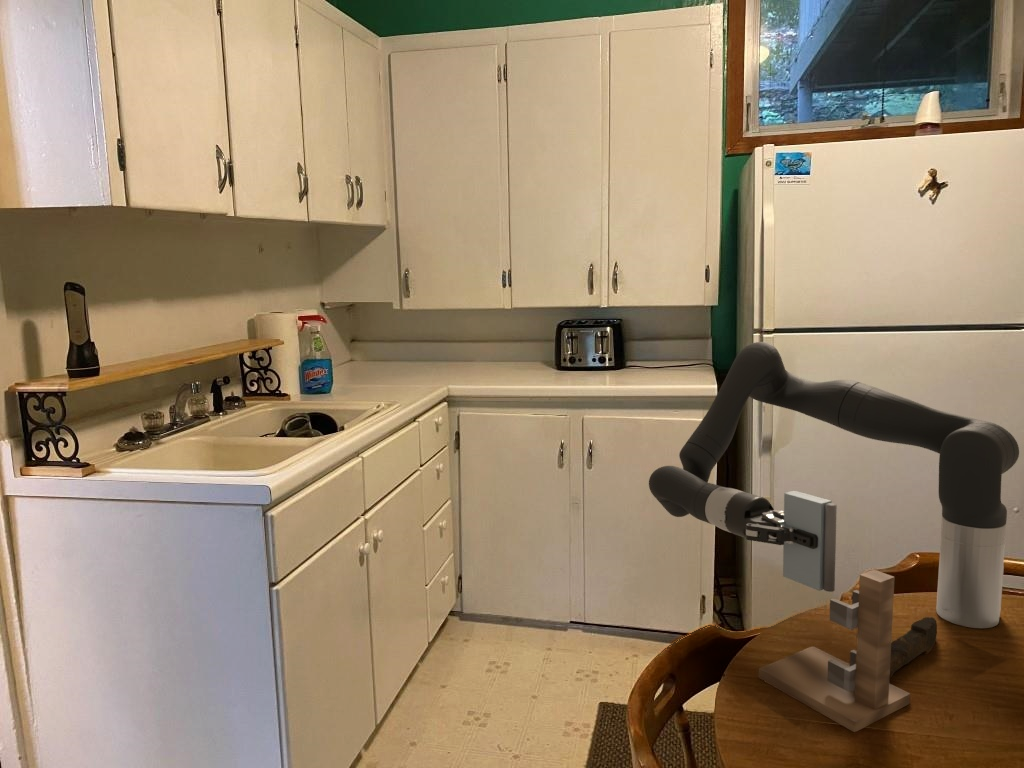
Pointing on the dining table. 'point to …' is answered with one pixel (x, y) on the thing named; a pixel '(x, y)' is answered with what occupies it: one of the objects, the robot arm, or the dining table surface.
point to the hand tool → (913, 643)
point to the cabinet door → (801, 560)
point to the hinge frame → (839, 685)
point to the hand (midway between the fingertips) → (822, 540)
